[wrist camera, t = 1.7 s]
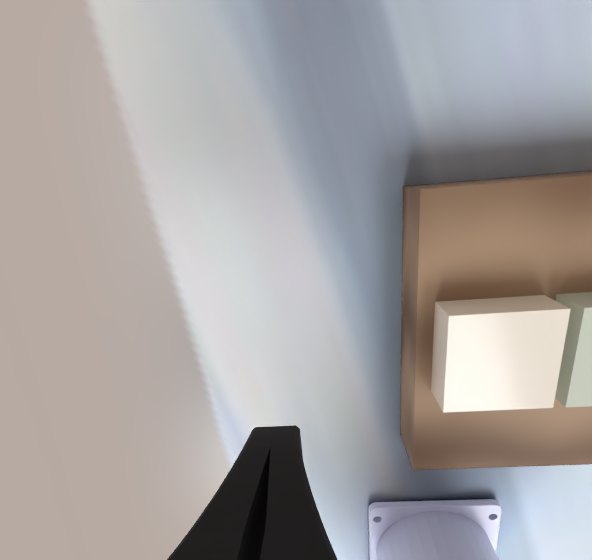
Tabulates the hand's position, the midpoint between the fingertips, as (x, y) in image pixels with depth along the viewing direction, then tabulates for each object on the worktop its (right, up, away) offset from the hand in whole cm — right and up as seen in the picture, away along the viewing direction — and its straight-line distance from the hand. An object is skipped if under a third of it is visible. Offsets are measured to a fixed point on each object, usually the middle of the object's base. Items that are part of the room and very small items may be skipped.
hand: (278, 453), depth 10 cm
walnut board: (+12, +3, +7) cm, 14 cm away
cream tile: (+9, +2, +5) cm, 10 cm away
